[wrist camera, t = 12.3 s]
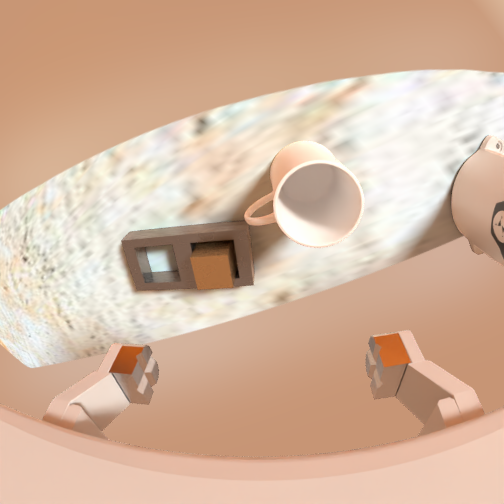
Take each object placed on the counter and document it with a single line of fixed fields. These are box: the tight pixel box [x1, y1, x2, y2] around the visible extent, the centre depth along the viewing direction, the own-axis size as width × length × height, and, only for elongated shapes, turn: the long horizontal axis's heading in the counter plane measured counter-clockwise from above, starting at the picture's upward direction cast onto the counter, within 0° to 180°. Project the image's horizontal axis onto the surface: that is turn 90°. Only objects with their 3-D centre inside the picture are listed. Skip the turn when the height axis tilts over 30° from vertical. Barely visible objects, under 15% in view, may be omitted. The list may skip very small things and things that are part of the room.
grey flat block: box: [121, 220, 255, 290], centre depth 41 cm, size 17×8×3 cm, turn 96°
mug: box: [244, 141, 364, 248], centre depth 31 cm, size 12×8×12 cm
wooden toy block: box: [190, 239, 238, 290], centre depth 39 cm, size 4×4×6 cm
